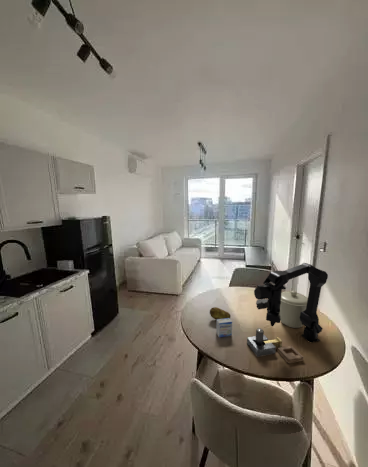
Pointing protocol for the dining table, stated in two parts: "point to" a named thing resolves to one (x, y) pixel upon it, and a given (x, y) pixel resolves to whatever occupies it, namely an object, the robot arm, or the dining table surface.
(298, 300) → the canister
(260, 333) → the grey peg
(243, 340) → the dining table surface
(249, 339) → the socket block
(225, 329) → the medicine box
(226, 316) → the potato
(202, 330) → the dining table surface
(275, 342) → the drift key
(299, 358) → the brown square frame
